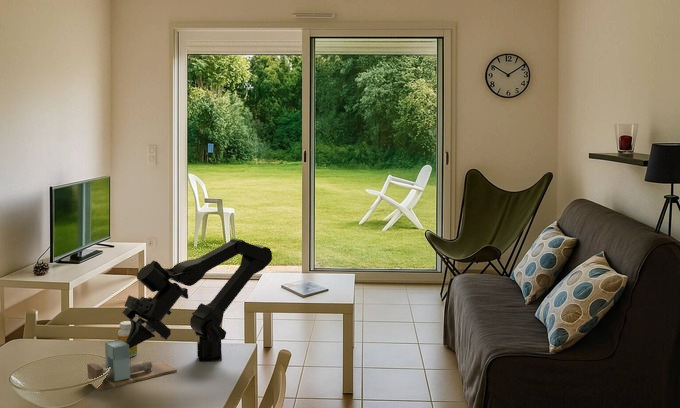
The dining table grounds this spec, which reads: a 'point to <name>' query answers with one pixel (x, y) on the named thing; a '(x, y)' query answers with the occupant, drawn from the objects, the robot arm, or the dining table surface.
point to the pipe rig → (136, 373)
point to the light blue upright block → (118, 359)
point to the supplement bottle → (126, 336)
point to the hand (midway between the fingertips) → (125, 348)
